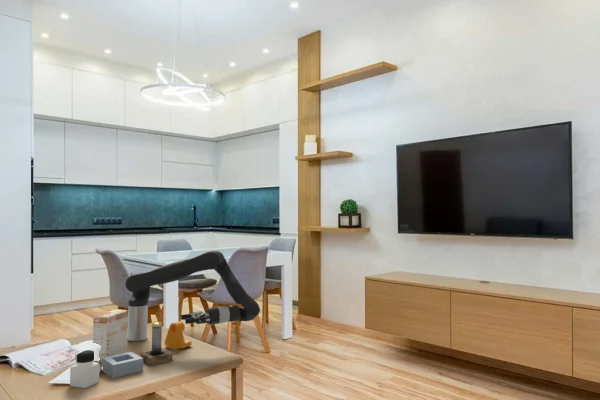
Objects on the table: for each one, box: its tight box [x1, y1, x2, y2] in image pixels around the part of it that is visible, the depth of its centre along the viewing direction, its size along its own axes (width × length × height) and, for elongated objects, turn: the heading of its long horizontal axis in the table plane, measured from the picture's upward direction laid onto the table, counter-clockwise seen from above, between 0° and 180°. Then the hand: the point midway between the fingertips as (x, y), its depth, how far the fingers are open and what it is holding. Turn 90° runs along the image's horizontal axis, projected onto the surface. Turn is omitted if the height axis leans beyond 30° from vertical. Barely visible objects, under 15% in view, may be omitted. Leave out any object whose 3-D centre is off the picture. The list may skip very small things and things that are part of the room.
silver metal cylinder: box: [151, 321, 163, 356], centre depth 194 cm, size 4×4×16 cm
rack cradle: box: [101, 351, 144, 379], centre depth 180 cm, size 12×12×5 cm
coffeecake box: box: [92, 308, 128, 363], centre depth 198 cm, size 15×7×20 cm, turn 164°
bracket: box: [164, 320, 192, 350], centre depth 214 cm, size 11×7×12 cm, turn 62°
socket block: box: [139, 348, 174, 366], centre depth 194 cm, size 10×10×3 cm
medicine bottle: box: [69, 349, 100, 389], centre depth 166 cm, size 7×7×12 cm
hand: (183, 319), depth 199 cm, fingers open, 8 cm apart
